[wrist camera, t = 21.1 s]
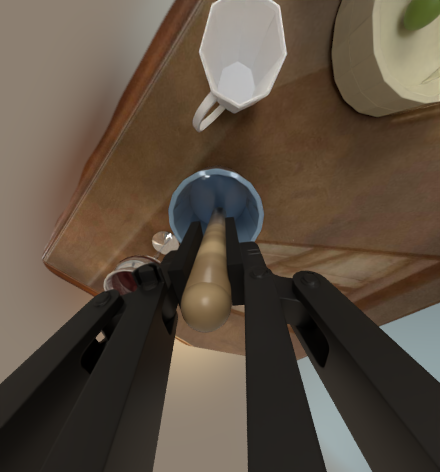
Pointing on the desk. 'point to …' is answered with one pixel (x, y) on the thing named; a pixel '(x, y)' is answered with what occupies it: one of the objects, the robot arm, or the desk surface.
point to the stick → (209, 280)
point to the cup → (240, 55)
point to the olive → (421, 13)
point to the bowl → (385, 58)
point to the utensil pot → (216, 202)
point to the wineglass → (138, 264)
